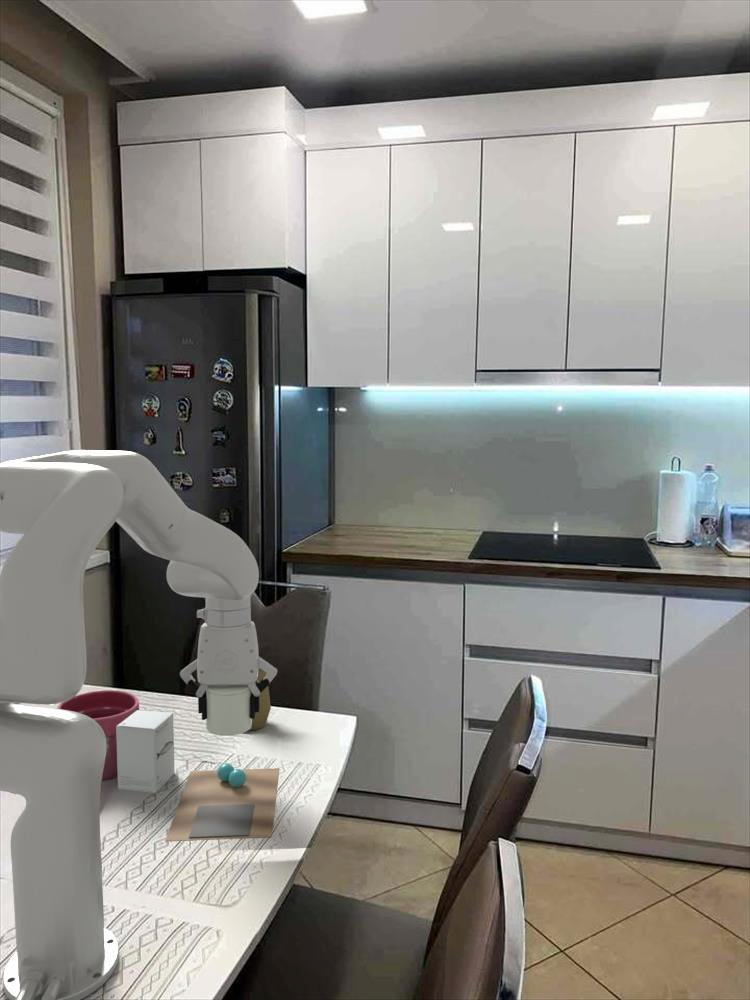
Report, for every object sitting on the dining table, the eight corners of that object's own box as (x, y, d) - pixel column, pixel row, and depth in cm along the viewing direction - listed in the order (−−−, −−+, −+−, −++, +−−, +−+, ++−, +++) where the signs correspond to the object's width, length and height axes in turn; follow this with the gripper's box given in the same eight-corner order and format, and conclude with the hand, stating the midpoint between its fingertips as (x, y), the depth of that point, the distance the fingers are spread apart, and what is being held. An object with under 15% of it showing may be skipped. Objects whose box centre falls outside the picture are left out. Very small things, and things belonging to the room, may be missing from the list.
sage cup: (249, 735, 124) (248, 691, 123) (204, 736, 123) (203, 692, 122) (253, 717, 131) (253, 676, 130) (210, 718, 130) (210, 677, 130)
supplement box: (156, 800, 125) (154, 729, 124) (116, 795, 127) (114, 725, 125) (176, 779, 133) (174, 712, 131) (138, 775, 134) (136, 708, 133)
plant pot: (156, 759, 140) (154, 694, 139) (106, 795, 127) (103, 724, 125) (95, 747, 145) (93, 685, 143) (41, 780, 132) (37, 712, 130)
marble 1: (233, 784, 128) (233, 768, 128) (216, 784, 128) (215, 768, 128) (235, 776, 131) (235, 760, 131) (218, 776, 131) (218, 760, 131)
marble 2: (245, 790, 126) (245, 773, 126) (227, 791, 126) (227, 774, 126) (247, 781, 129) (246, 765, 129) (229, 782, 129) (229, 766, 129)
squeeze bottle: (225, 730, 153) (223, 646, 151) (243, 715, 161) (241, 635, 159) (260, 735, 151) (259, 650, 149) (277, 720, 158) (276, 638, 156)
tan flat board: (271, 844, 113) (271, 835, 112) (165, 848, 111) (164, 839, 111) (279, 774, 134) (279, 767, 134) (190, 777, 133) (190, 770, 133)
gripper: (171, 622, 121) (173, 726, 122) (278, 621, 122) (278, 724, 124) (180, 611, 128) (182, 709, 130) (280, 610, 129) (281, 707, 131)
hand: (229, 715), depth 127 cm, fingers closed on sage cup, 7 cm apart
